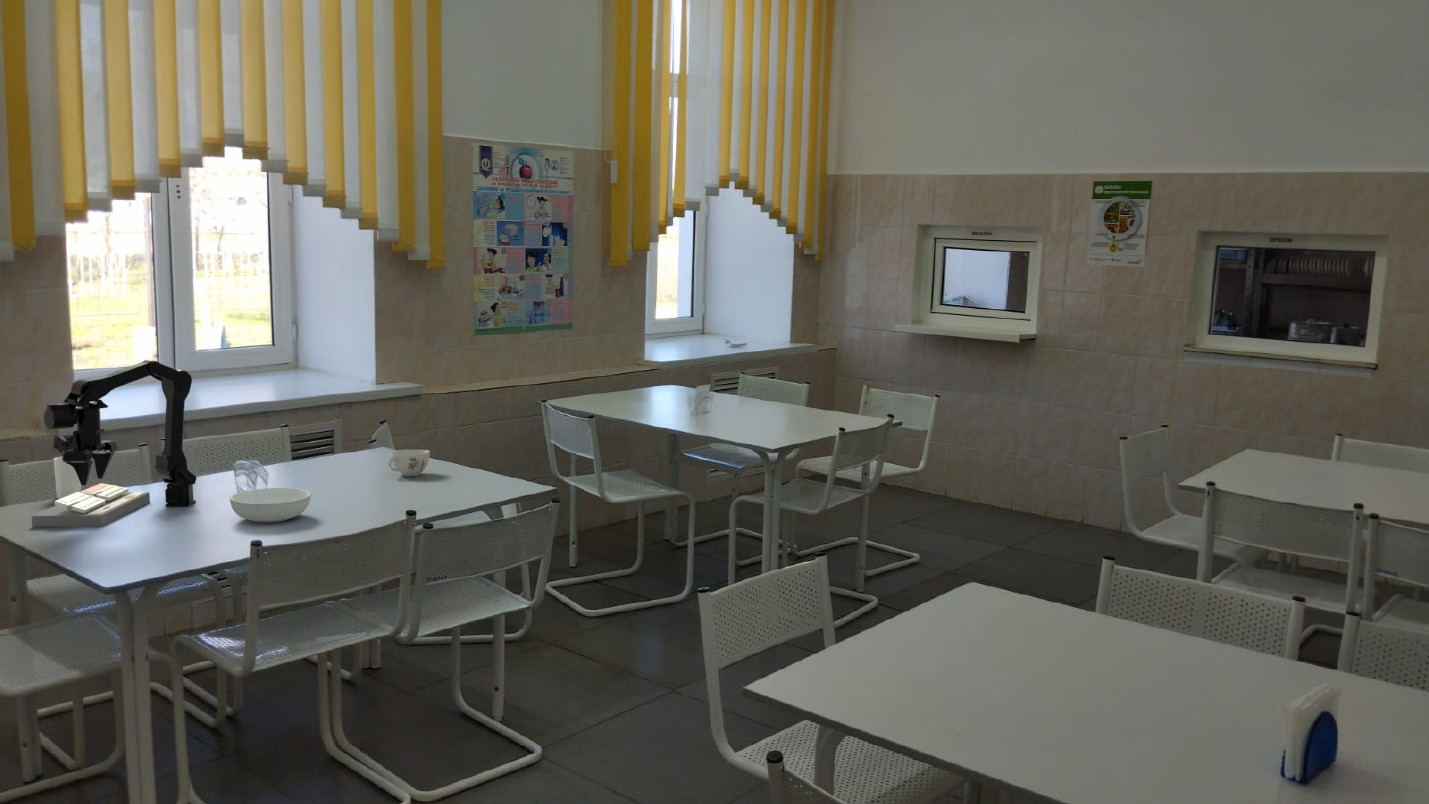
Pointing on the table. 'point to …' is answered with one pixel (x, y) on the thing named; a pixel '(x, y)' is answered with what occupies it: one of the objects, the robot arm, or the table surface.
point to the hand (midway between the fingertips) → (92, 481)
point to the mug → (65, 479)
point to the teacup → (409, 461)
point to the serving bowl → (270, 504)
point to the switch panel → (91, 512)
